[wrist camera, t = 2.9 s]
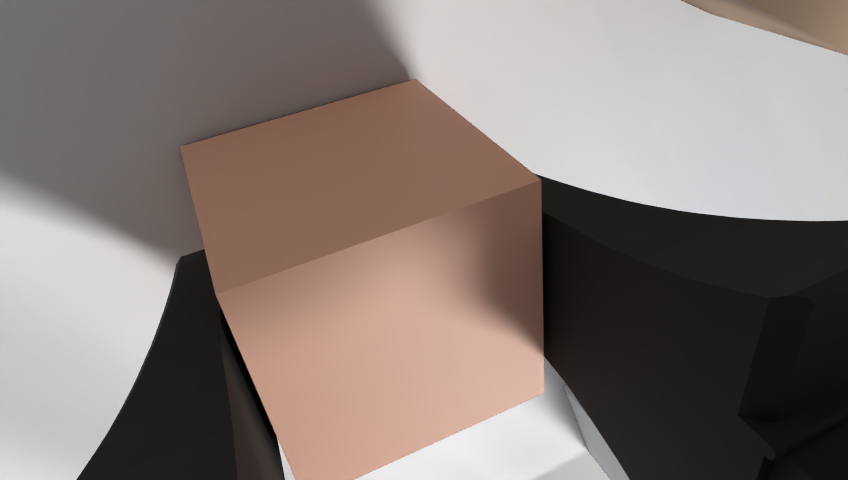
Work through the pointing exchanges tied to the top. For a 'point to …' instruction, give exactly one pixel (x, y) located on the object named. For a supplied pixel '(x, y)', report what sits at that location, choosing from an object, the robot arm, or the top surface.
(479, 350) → the terracotta cube
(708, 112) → the top surface
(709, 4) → the walnut block
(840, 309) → the robot arm
